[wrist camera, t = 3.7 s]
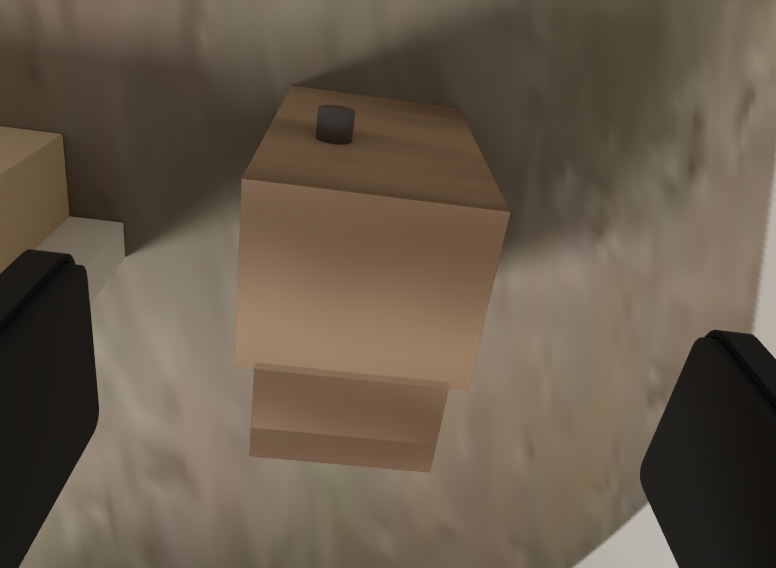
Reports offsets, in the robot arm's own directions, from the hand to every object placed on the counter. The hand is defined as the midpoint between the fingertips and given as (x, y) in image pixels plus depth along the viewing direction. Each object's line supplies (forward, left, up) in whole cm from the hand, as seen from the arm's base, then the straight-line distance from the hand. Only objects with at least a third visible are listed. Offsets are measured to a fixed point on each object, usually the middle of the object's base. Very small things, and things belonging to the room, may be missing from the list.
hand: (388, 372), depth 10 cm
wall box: (-3, 0, -15) cm, 16 cm away
